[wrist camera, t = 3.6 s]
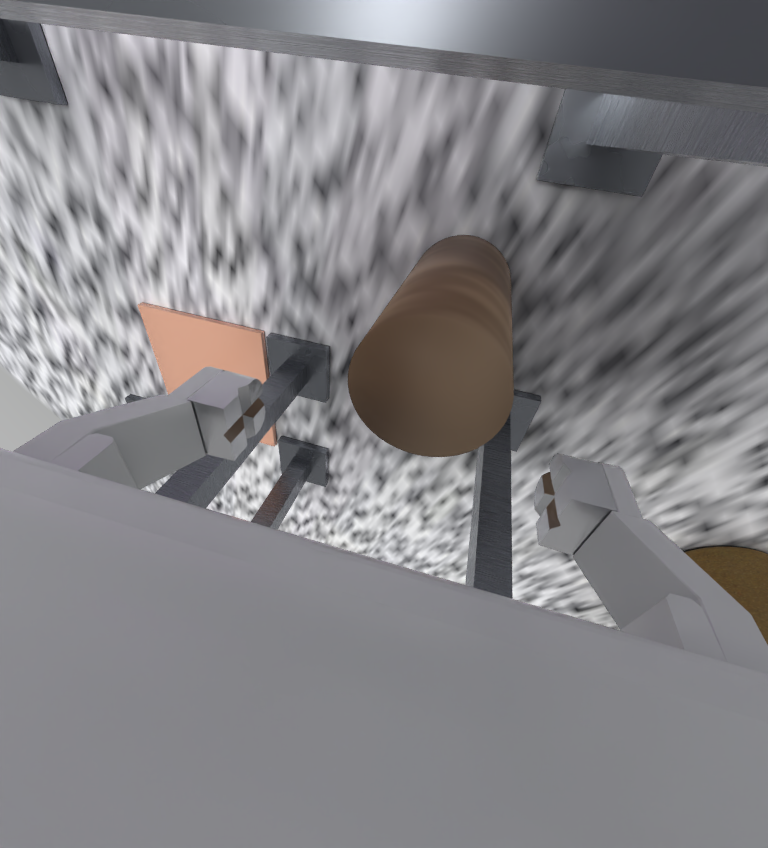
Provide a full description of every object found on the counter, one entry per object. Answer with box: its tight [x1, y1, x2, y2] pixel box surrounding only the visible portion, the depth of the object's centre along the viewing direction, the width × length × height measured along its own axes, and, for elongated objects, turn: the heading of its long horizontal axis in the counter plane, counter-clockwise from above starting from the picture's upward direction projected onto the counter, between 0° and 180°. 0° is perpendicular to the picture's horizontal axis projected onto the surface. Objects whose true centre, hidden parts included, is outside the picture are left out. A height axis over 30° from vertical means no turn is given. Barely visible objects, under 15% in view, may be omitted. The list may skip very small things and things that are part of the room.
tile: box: [138, 303, 277, 446], centre depth 27 cm, size 9×10×1 cm
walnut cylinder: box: [348, 235, 514, 457], centre depth 15 cm, size 5×5×10 cm
